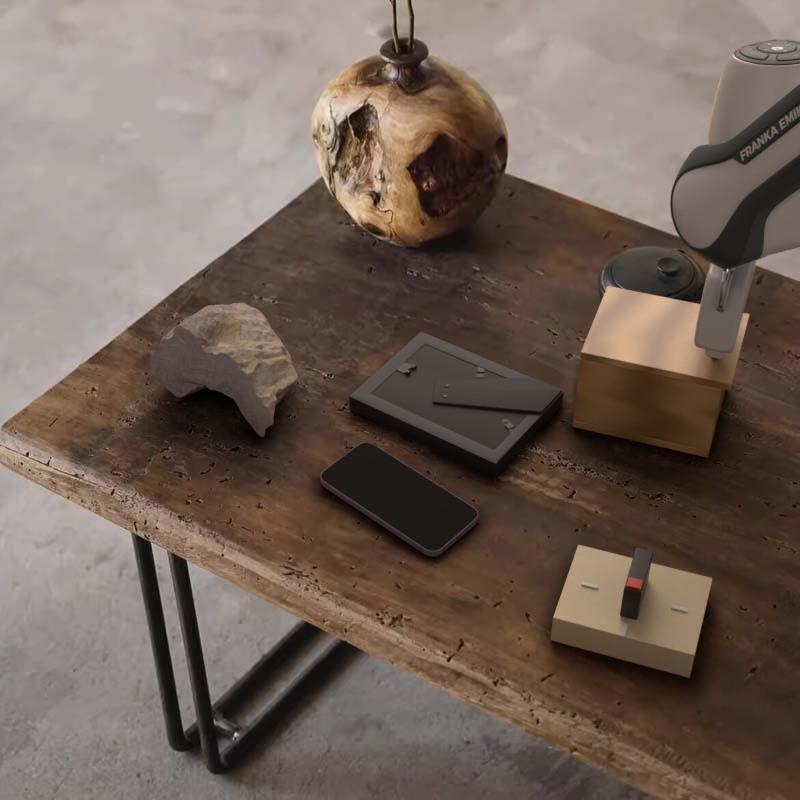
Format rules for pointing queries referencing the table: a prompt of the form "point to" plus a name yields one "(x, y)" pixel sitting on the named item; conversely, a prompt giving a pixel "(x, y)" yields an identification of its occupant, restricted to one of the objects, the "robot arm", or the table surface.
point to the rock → (227, 360)
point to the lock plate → (623, 637)
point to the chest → (646, 407)
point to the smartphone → (399, 498)
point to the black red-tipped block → (636, 583)
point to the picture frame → (457, 403)
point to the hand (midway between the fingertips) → (720, 332)
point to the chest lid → (656, 339)
